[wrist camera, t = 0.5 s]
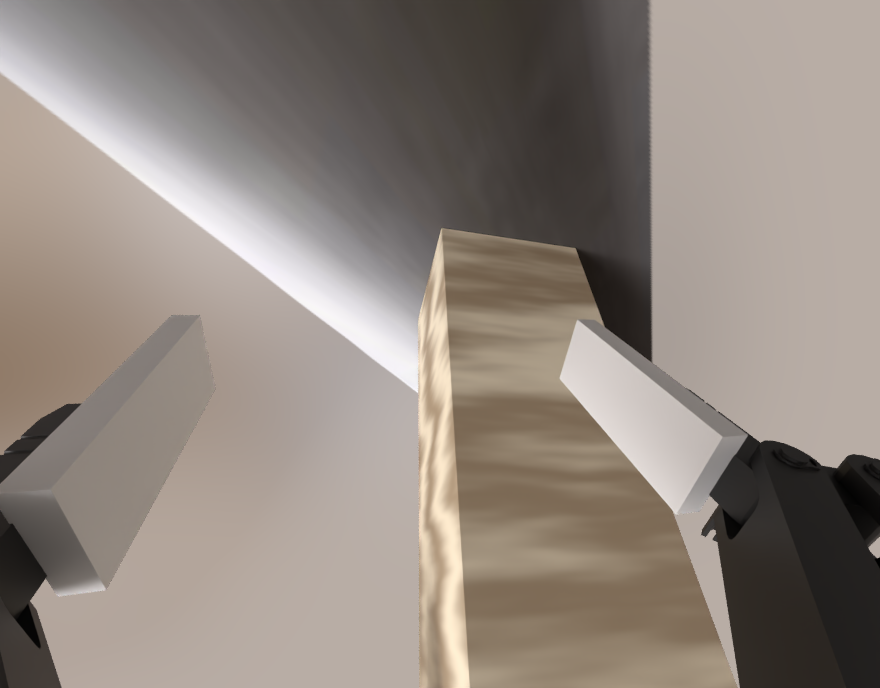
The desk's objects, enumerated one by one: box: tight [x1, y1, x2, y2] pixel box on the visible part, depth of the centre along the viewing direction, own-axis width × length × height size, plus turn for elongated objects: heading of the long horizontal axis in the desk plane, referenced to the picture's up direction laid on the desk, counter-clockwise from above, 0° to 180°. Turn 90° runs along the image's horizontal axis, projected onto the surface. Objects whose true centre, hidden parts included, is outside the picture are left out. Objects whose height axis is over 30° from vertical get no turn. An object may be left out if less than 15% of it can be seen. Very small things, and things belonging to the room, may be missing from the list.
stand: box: [418, 228, 737, 688], centre depth 27 cm, size 12×12×32 cm
